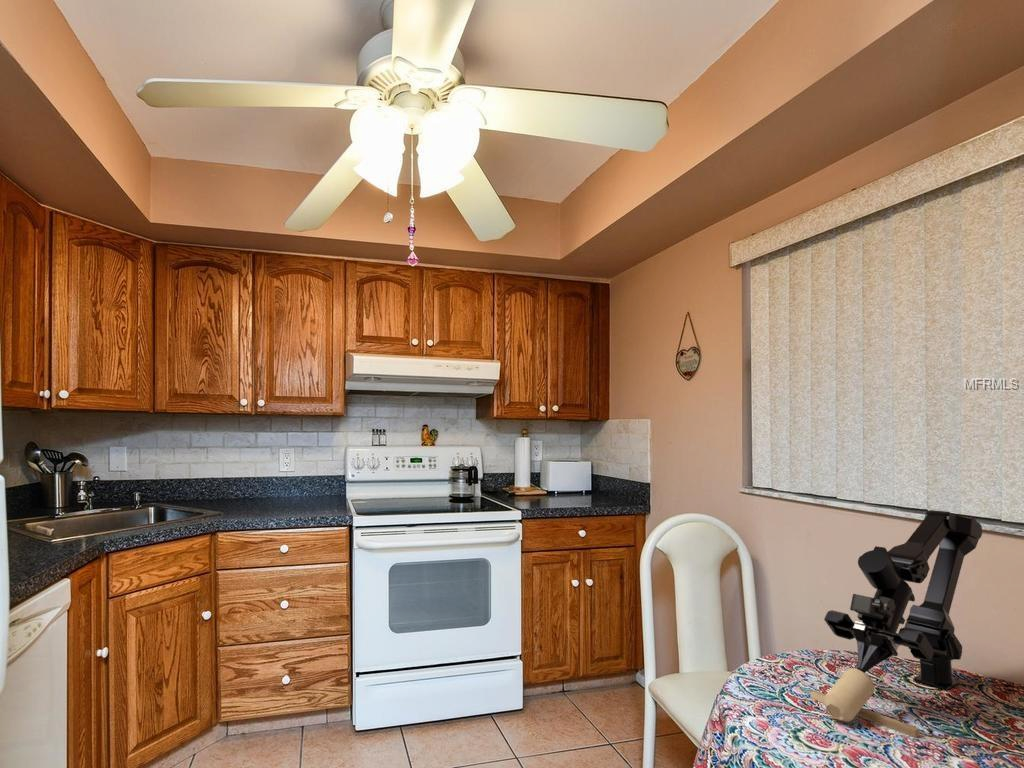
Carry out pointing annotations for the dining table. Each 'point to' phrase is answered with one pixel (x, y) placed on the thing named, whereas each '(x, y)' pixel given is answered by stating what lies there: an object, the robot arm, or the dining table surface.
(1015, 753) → the dining table surface
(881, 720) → the oak strip
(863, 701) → the candle
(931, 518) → the robot arm
